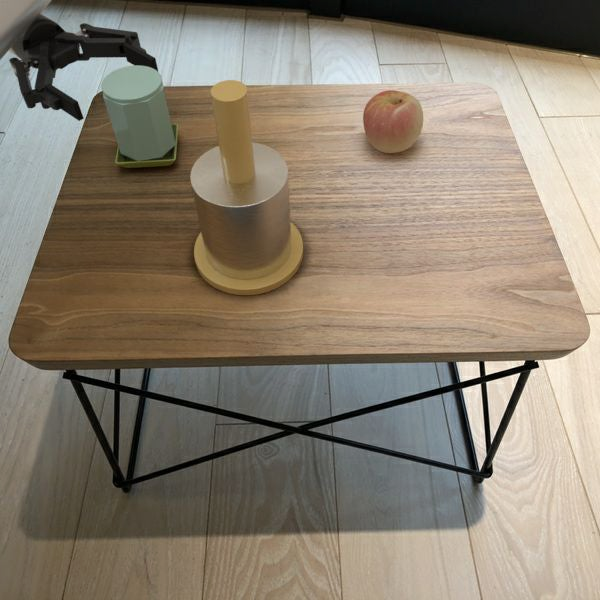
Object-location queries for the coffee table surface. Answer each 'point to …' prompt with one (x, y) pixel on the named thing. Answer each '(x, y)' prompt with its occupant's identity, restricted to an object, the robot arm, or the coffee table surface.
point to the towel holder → (243, 205)
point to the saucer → (162, 161)
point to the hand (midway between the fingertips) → (118, 88)
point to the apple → (393, 121)
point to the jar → (139, 112)
